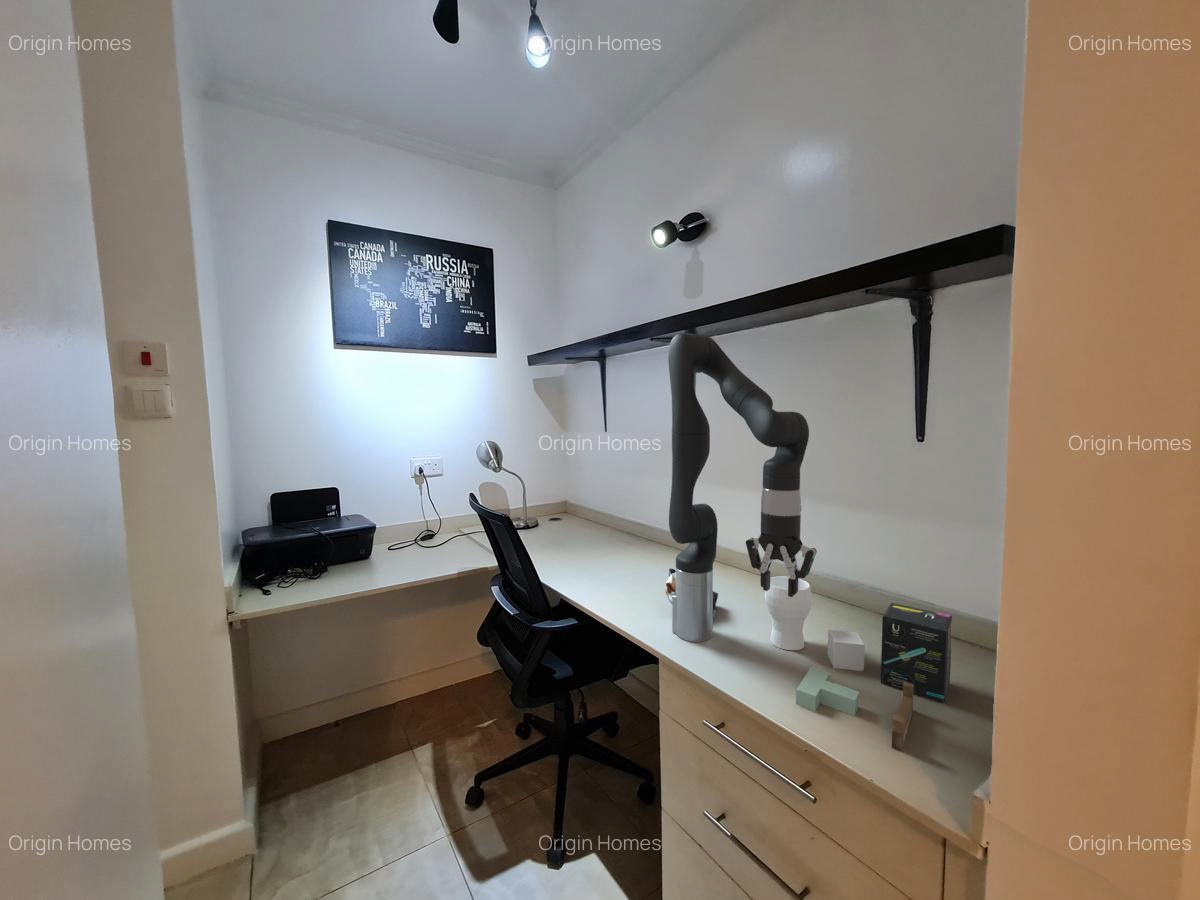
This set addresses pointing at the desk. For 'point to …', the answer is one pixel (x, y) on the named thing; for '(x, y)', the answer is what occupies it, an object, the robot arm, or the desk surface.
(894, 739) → the rail
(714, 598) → the lucky cat figurine
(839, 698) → the t block
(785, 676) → the desk surface
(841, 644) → the white cube piece
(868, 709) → the desk surface
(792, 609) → the cup
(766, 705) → the desk surface
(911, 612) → the tampon box
